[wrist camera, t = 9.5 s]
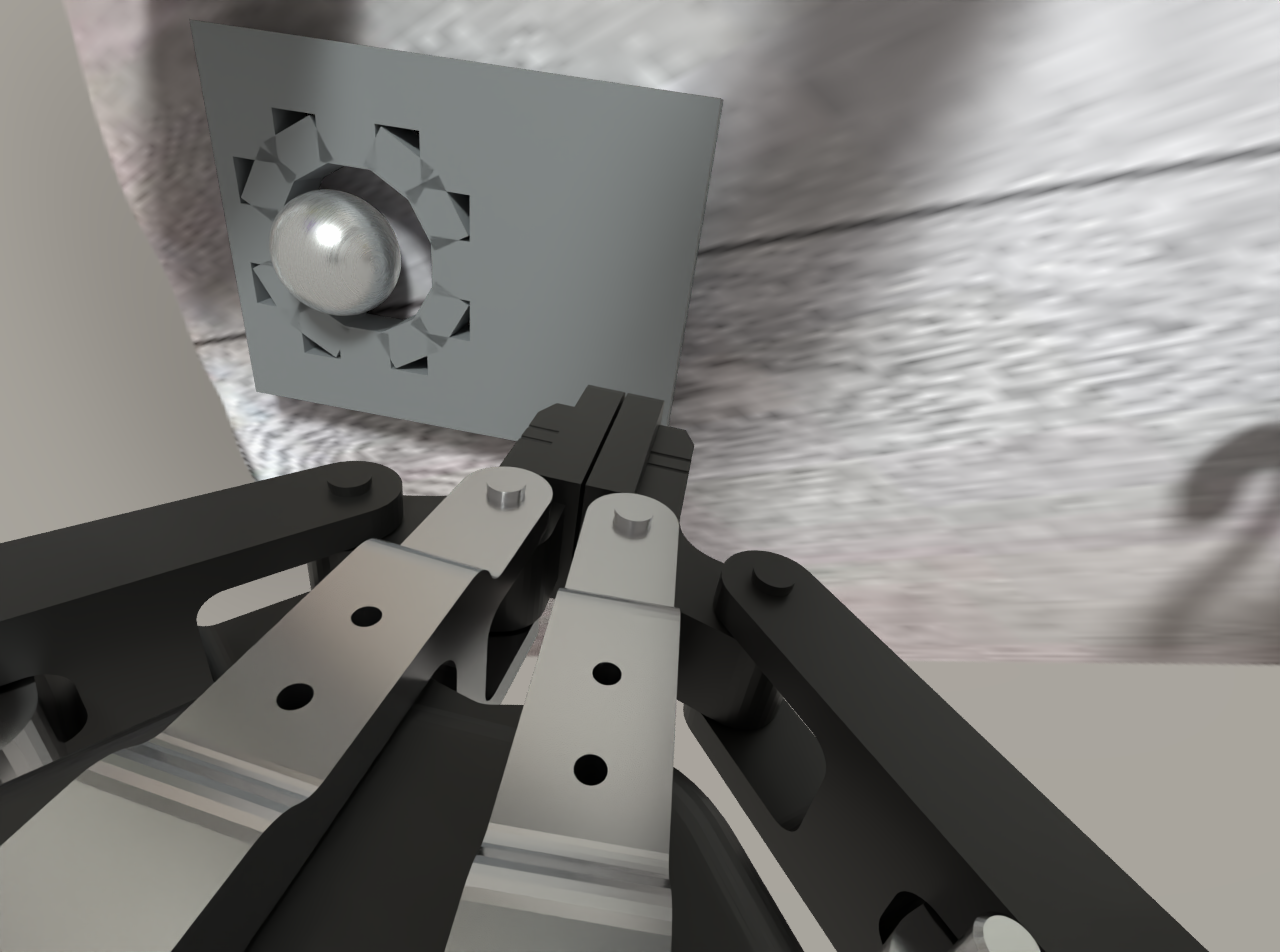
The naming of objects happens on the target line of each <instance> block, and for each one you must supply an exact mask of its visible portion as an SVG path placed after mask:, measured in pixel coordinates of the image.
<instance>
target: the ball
mask: <svg viewBox="0 0 1280 952" xmlns="http://www.w3.org/2000/svg"><path fill="white" fill-rule="evenodd" d="M269 252H270V257H271V261H272V264H273V267H274V270H275V272H276V274H277V276H278V278H279V279H280V281H281V282H282V283H283V285H284V286H285V287H286V289H287V290H288V291H289V292H290V293H291V294H292V295H293V296H294V297H296V298H297V299H298V300H299V301H301V302H302V303H304V304H305V305H307V306H309V307H311V308H313V309H315V310H317V311H320V312H323V313H326V314H331V315H338V316H350V315H358V314H361V313H365V312H367V311H369V310H372V309H374V308H375V307H377V306H378V305H380V304H381V303H382V302H384V301H385V300H386V299H387V298H388V297H389V295H390V294H391V293H392V291H393V289H394V288H395V286H396V284H397V281H398V278H399V275H400V270H401V253H400V248H399V244H398V241H397V238H396V235H395V233H394V231H393V229H392V228H391V226H390V225H389V223H388V221H387V220H386V219H385V218H384V216H383V215H382V214H381V213H380V212H379V211H378V210H377V209H376V208H374V207H373V206H372V205H370V204H369V203H368V202H366V201H365V200H363V199H361V198H359V197H357V196H355V195H352V194H349V193H347V192H343V191H338V190H330V189H323V190H313V191H310V192H306V193H303V194H301V195H299V196H297V197H295V198H293V199H292V200H290V201H289V202H288V203H287V204H286V205H285V206H284V207H283V208H282V209H281V210H280V211H279V213H278V214H277V216H276V217H275V219H274V222H273V224H272V227H271V230H270V236H269Z"/></svg>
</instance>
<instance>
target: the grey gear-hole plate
mask: <svg viewBox="0 0 1280 952" xmlns="http://www.w3.org/2000/svg"><path fill="white" fill-rule="evenodd" d="M189 20H190V19H189ZM190 26H191V31H192V37H193V42H194V48H195V53H196V59H197V64H198V70H199V76H200V81H201V87H202V92H203V98H204V103H205V109H206V114H207V120H208V126H209V131H210V137H211V142H212V148H213V153H214V159H215V165H216V170H217V176H218V181H219V187H220V192H221V198H222V203H223V209H224V215H225V220H226V226H227V231H228V237H229V242H230V248H231V253H232V259H233V265H234V270H235V276H236V281H237V287H238V292H239V298H240V303H241V309H242V315H243V320H244V326H245V331H246V337H247V342H248V348H249V354H250V359H251V365H252V370H253V376H254V381H255V387H256V392H261V393H267V394H272V395H277V396H282V397H288V398H293V399H298V400H303V401H309V402H314V403H319V404H324V405H330V406H335V407H340V408H345V409H351V410H356V411H361V412H366V413H371V414H377V415H382V416H387V417H392V418H398V419H403V420H408V421H413V422H419V423H424V424H429V425H434V426H440V427H445V428H450V429H455V430H461V431H466V432H471V433H476V434H482V435H487V436H492V437H497V438H503V439H508V440H513V441H518V440H519V438H521V435H522V434H523V433H524V431H525V430H526V428H527V427H529V424H530V423H531V421H532V420H533V419H534V417H535V416H536V414H537V413H538V412H539V411H541V410H543V409H545V408H547V407H550V406H552V405H554V404H556V403H559V404H564V405H568V406H573V407H575V405H576V403H577V402H578V400H579V399H580V397H581V395H582V394H583V392H584V390H585V389H586V387H587V386H588V385H593V386H598V387H602V388H607V389H612V390H617V391H621V392H625V393H626V395H627V393H631V394H636V395H641V396H646V397H650V398H655V399H660V400H664V401H665V402H664V409H663V415H662V420H661V425H663V426H669V420H670V414H671V408H672V402H673V396H674V390H675V384H676V378H677V373H678V367H679V361H680V355H681V349H682V343H683V337H684V331H685V325H686V319H687V313H688V307H689V301H690V295H691V289H692V284H693V278H694V272H695V266H696V260H697V254H698V248H699V242H700V236H701V230H702V224H703V218H704V212H705V206H706V200H707V195H708V189H709V183H710V177H711V171H712V165H713V159H714V153H715V147H716V141H717V135H718V129H719V123H720V117H721V111H722V106H723V99H721V98H714V97H707V96H701V95H694V94H687V93H680V92H674V91H667V90H660V89H654V88H647V87H640V86H633V85H627V84H620V83H613V82H607V81H600V80H593V79H586V78H580V77H573V76H566V75H560V74H553V73H546V72H539V71H533V70H526V69H519V68H513V67H506V66H499V65H492V64H486V63H479V62H472V61H466V60H459V59H452V58H445V57H439V56H432V55H425V54H419V53H412V52H405V51H398V50H392V49H385V48H378V47H372V46H365V45H358V44H351V43H345V42H338V41H331V40H325V39H318V38H311V37H304V36H298V35H291V34H284V33H278V32H271V31H264V30H257V29H251V28H244V27H237V26H231V25H224V24H217V23H210V22H204V21H197V20H190ZM304 113H310V114H315V115H309V116H307V117H305V115H304ZM410 129H412V130H418V131H419V136H418V135H417V134H415V133H414V132H413V131H412V130H410ZM343 166H349V167H356V168H362V169H368V170H371V171H372V172H373V173H375V174H376V175H377V176H378V177H380V178H381V179H382V180H384V181H385V182H386V183H387V184H389V185H390V186H391V187H392V188H394V189H395V190H396V191H397V192H399V193H400V194H401V195H403V196H404V197H405V198H406V199H408V200H409V202H410V204H411V206H412V208H413V210H414V212H415V214H416V216H417V218H418V220H419V222H420V223H421V225H422V227H423V229H424V231H425V233H426V235H427V237H428V239H429V241H430V243H431V262H432V288H431V290H430V292H429V294H428V295H427V297H426V299H425V301H424V302H423V304H422V306H421V307H420V309H419V311H418V313H417V314H416V315H414V316H412V317H410V318H407V319H405V320H401V319H395V318H390V317H384V316H378V315H373V314H368V313H366V312H365V313H361V314H358V315H350V316H338V315H331V314H326V313H323V312H320V311H317V310H315V309H313V308H311V307H309V306H307V305H305V304H304V303H302V302H301V301H299V300H298V299H297V298H296V297H294V296H293V295H292V294H291V293H290V292H289V291H288V290H287V289H286V287H285V286H284V285H283V283H282V282H281V281H280V279H279V278H278V276H277V274H276V272H275V270H274V267H273V264H272V261H271V257H270V252H269V236H270V230H271V227H272V224H273V222H274V219H275V217H276V216H277V214H278V213H279V211H280V210H281V209H282V208H283V207H284V206H285V205H286V204H287V203H288V202H289V201H290V200H292V199H293V198H295V197H297V196H299V195H301V194H303V193H306V192H310V191H313V190H318V189H319V186H320V184H321V182H322V179H323V177H325V176H327V175H328V174H330V173H332V172H334V171H336V170H338V169H340V168H341V167H343ZM469 321H470V325H467V324H468V322H469ZM426 356H427V357H426Z"/></svg>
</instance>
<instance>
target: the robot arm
mask: <svg viewBox="0 0 1280 952" xmlns="http://www.w3.org/2000/svg"><path fill="white" fill-rule="evenodd" d="M664 402H665V401H664V400H660V399H655V398H650V397H646V396H641V395H636V394H631V393H627V395H626V393H625V392H621V391H617V390H612V389H607V388H602V387H598V386H593V385H588V386H587V387H586V389H585V390H584V392H583V394H582V395H581V397H580V399H579V400H578V402H577V403H576V405H575V407H573V406H568V405H564V404H559V403H556V404H554V405H552V406H550V407H547V408H545V409H543V410H541V411H539V412H538V413H537V414H536V416H535V417H534V419H533V420H532V421H531V423H530V424H529V427H527V428H526V430H525V431H524V433H523V434H522V435H521V438H519V440H518V441H517V442H516V444H515V445H514V446H513V448H512V449H511V451H510V452H509V453H508V455H507V456H506V458H505V459H504V460H503V462H502V463H501V465H500V466H499V467H491V468H485V469H481V470H478V471H476V472H473V473H471V474H470V475H468V476H467V477H465V478H464V479H463V480H462V481H461V482H460V483H459V484H458V485H457V486H456V487H455V488H454V490H453V491H452V492H451V493H450V494H449V495H448V496H406V495H403V491H402V481H401V478H400V477H399V475H398V474H397V473H396V472H395V471H393V470H392V469H390V468H388V467H386V466H383V465H381V464H377V463H372V462H366V461H346V462H338V463H333V464H328V465H324V466H320V467H316V468H312V469H308V470H303V471H299V472H295V473H291V474H287V475H283V476H278V477H274V478H270V479H266V480H262V481H258V482H254V483H250V484H245V485H241V486H237V487H233V488H229V489H224V490H221V491H216V492H212V493H208V494H204V495H199V496H195V497H191V498H187V499H183V500H179V501H175V502H171V503H166V504H162V505H158V506H154V507H150V508H146V509H141V510H137V511H133V512H129V513H125V514H121V515H117V516H112V517H108V518H104V519H100V520H96V521H92V522H88V523H83V524H79V525H75V526H71V527H66V528H63V529H58V530H54V531H50V532H46V533H42V534H38V535H33V536H29V537H25V538H21V539H17V540H13V541H8V542H4V543H0V952H804V951H803V949H802V947H801V946H800V944H799V942H798V941H797V939H796V937H795V936H794V934H793V932H792V931H791V929H790V927H789V925H788V924H787V922H786V920H785V919H784V917H783V915H782V914H781V912H780V910H779V909H778V907H777V905H776V903H775V902H774V900H773V898H772V897H771V895H770V893H769V891H768V890H767V888H766V886H765V885H764V883H763V882H762V880H761V878H760V877H759V875H758V873H757V871H756V869H755V868H754V866H753V864H752V863H751V861H750V859H749V858H748V856H747V854H746V853H745V851H744V849H743V848H742V846H741V844H740V843H739V841H738V839H737V837H736V836H735V834H734V832H733V831H732V829H731V828H730V826H729V824H728V823H727V821H726V820H725V819H724V817H723V816H722V815H721V814H720V812H719V811H718V810H717V808H716V807H715V806H714V804H713V803H712V802H711V801H710V799H709V798H708V797H707V796H706V795H705V794H704V793H703V792H702V791H701V790H700V789H699V788H698V787H697V786H696V785H695V784H694V783H693V782H692V781H691V780H689V779H688V778H687V777H686V776H685V775H684V774H682V773H681V772H680V771H679V770H677V769H675V768H674V767H673V759H674V740H675V719H676V699H677V700H679V701H681V702H682V703H684V709H683V710H684V717H685V720H686V723H687V724H688V727H689V728H690V730H691V732H692V733H693V734H694V736H695V738H696V739H697V741H698V742H699V744H700V745H701V746H702V748H703V750H704V751H705V752H706V754H707V756H708V757H709V759H710V760H711V762H712V763H713V765H714V766H715V768H716V769H717V771H718V772H719V774H720V775H721V777H722V778H723V780H724V781H725V783H726V784H727V786H728V787H729V789H730V790H731V792H732V794H733V795H734V796H735V798H736V799H737V801H738V803H739V804H740V806H741V807H742V809H743V810H744V812H745V813H746V815H747V816H748V817H749V819H750V821H751V822H752V823H753V825H754V827H755V828H756V830H757V831H758V832H759V834H760V836H761V837H762V839H763V840H764V842H765V843H766V845H767V846H768V848H769V849H770V851H771V852H772V854H773V855H774V857H775V858H776V860H777V862H778V863H779V865H780V866H781V868H782V869H783V870H784V872H785V874H786V875H787V877H788V878H789V879H790V881H791V882H792V884H793V885H794V887H795V889H796V890H797V892H798V893H799V895H800V896H801V898H802V899H803V901H804V902H805V904H806V905H807V907H808V908H809V910H810V911H811V913H812V914H813V916H814V917H815V919H816V920H817V922H818V923H819V925H820V926H821V928H822V929H823V931H824V932H825V934H826V936H827V937H828V938H829V940H830V942H831V943H832V945H833V946H834V948H835V949H836V950H837V952H1209V951H1207V950H1206V949H1205V948H1204V947H1203V946H1202V945H1201V944H1200V943H1199V942H1198V941H1197V940H1196V939H1195V938H1194V937H1193V936H1192V935H1191V934H1190V933H1189V932H1187V931H1186V930H1185V929H1184V928H1183V927H1182V926H1181V925H1180V924H1179V923H1178V922H1177V921H1176V920H1175V919H1174V918H1173V917H1172V916H1171V915H1170V914H1168V912H1166V911H1165V910H1164V909H1163V908H1162V907H1161V906H1160V905H1159V904H1158V903H1157V902H1156V901H1155V900H1154V899H1152V897H1151V896H1150V895H1148V894H1147V893H1146V892H1145V891H1144V890H1143V889H1142V888H1141V887H1140V886H1139V885H1138V884H1137V883H1136V882H1135V881H1134V880H1133V879H1132V878H1131V877H1130V876H1128V874H1126V873H1125V872H1124V871H1123V870H1122V869H1121V868H1120V867H1119V866H1118V865H1117V864H1116V863H1115V862H1114V861H1113V860H1112V859H1111V858H1110V857H1109V856H1108V855H1106V854H1105V853H1104V852H1103V851H1102V850H1101V849H1100V848H1099V847H1098V846H1097V845H1096V844H1095V843H1094V842H1093V841H1092V840H1091V839H1090V838H1089V837H1088V836H1086V835H1085V834H1084V833H1083V832H1082V831H1081V830H1080V829H1079V828H1078V827H1077V826H1076V825H1075V824H1074V823H1073V822H1072V821H1071V820H1070V819H1069V818H1067V817H1066V816H1065V815H1064V814H1063V813H1062V812H1061V811H1060V810H1059V809H1058V808H1057V807H1056V806H1055V805H1054V804H1053V803H1052V802H1051V801H1050V800H1049V799H1048V798H1047V797H1045V796H1044V795H1043V794H1042V793H1041V792H1040V791H1039V790H1038V789H1037V788H1036V787H1035V786H1034V785H1033V784H1032V783H1031V782H1030V781H1029V780H1028V779H1027V778H1025V777H1024V776H1023V775H1022V774H1021V773H1020V772H1019V771H1018V770H1017V769H1016V768H1015V767H1014V766H1013V765H1012V764H1011V763H1010V762H1009V761H1007V759H1006V758H1004V757H1003V756H1002V755H1001V754H1000V753H999V752H998V751H997V750H996V749H995V748H994V747H993V746H992V745H991V744H990V743H989V742H988V741H987V740H985V739H984V738H983V737H982V736H981V735H980V734H979V733H978V732H977V731H976V730H975V729H974V728H973V727H972V726H971V725H970V724H969V723H968V722H967V721H965V720H964V719H963V718H962V717H961V716H960V715H959V714H958V713H957V712H956V711H955V710H954V709H953V708H952V707H951V706H950V705H948V703H946V701H944V700H943V699H942V698H941V697H940V696H939V695H938V694H937V693H936V692H935V691H934V690H933V689H932V688H931V687H930V686H929V685H928V684H926V682H925V681H923V680H922V679H921V678H920V677H919V676H918V675H917V674H916V673H915V672H914V671H913V670H912V669H911V668H910V667H909V666H908V665H907V664H906V663H905V662H903V661H902V660H901V659H900V658H899V657H898V656H897V655H896V654H895V653H894V652H893V651H892V650H891V649H890V648H889V647H888V646H887V645H886V644H885V643H883V642H882V641H881V640H880V639H879V638H878V637H877V636H876V635H875V634H874V633H873V632H872V631H871V630H870V629H869V628H868V627H867V626H866V625H865V624H863V623H862V622H861V621H860V620H859V619H858V618H857V617H856V616H855V615H854V614H853V613H852V612H851V611H850V610H849V609H848V608H847V607H846V606H845V605H844V604H842V603H841V602H840V601H839V600H838V599H837V598H836V597H835V596H834V595H833V594H832V593H831V592H830V591H829V590H828V589H827V588H826V587H825V586H824V585H822V584H821V583H820V582H819V581H818V580H817V579H816V578H815V577H814V576H813V575H812V574H811V573H810V572H809V571H808V570H806V569H805V568H804V567H803V566H801V565H800V564H798V563H797V562H795V561H793V560H791V559H789V558H787V557H784V556H782V555H779V554H775V553H772V552H766V551H757V550H755V551H744V552H740V553H737V554H735V555H733V556H731V557H730V558H728V559H727V560H726V562H725V563H722V562H720V561H718V560H715V559H713V558H711V557H709V556H707V555H705V554H704V553H702V552H701V551H699V550H698V549H696V548H695V547H694V546H693V545H691V543H690V542H689V541H688V540H687V539H686V538H685V536H684V535H683V533H682V531H681V528H680V515H681V510H682V505H683V500H684V495H685V489H686V484H687V479H688V474H689V469H690V464H691V459H692V454H693V449H694V444H693V442H692V440H691V439H690V437H689V435H688V433H687V432H686V430H682V429H677V428H672V427H668V426H663V425H661V420H662V415H663V409H664ZM306 563H307V565H308V572H309V578H310V585H311V591H310V592H307V593H304V594H301V595H298V596H296V597H293V598H290V599H287V600H284V601H281V602H279V603H276V604H273V605H270V606H267V607H265V608H262V609H259V610H256V611H253V612H250V613H247V614H245V615H242V616H239V617H236V618H233V619H231V620H228V621H225V622H222V623H219V624H216V625H213V626H197V621H196V618H197V614H198V611H199V609H200V608H201V606H202V605H203V604H204V602H206V601H207V600H208V599H209V598H211V597H212V596H214V595H215V594H217V593H219V592H221V591H224V590H227V589H230V588H233V587H236V586H239V585H242V584H245V583H248V582H251V581H254V580H257V579H260V578H263V577H266V576H269V575H272V574H275V573H278V572H281V571H284V570H287V569H290V568H293V567H297V566H300V565H303V564H306ZM549 598H553V599H555V602H554V605H553V608H552V612H551V615H550V619H549V622H548V625H547V629H546V632H545V635H544V639H543V642H542V646H541V649H540V652H539V656H538V659H537V663H536V666H535V670H534V673H533V677H532V680H531V683H530V686H529V690H528V693H527V696H526V700H525V703H524V705H500V704H501V702H502V700H503V699H504V697H505V695H506V693H507V691H508V689H509V687H510V686H511V684H512V682H513V680H514V678H515V676H516V674H517V672H518V671H519V668H520V667H521V664H522V663H523V661H524V659H525V657H526V656H527V654H528V652H529V650H530V648H531V646H532V644H533V642H534V641H535V639H536V637H537V635H538V632H539V627H540V618H541V615H542V613H543V612H544V610H545V607H546V605H547V603H548V600H549ZM783 697H784V698H785V699H784V698H783ZM785 700H786V701H787V702H788V703H789V704H790V705H789V704H788V703H787V702H786V701H785ZM790 706H791V707H792V708H793V709H794V710H793V709H792V708H791V707H790ZM794 711H795V712H796V713H797V714H798V715H799V716H798V715H797V714H796V713H795V712H794ZM799 717H800V718H801V719H802V720H803V721H804V722H803V721H802V720H801V719H800V718H799ZM804 723H805V724H806V725H807V726H808V727H809V728H808V727H807V726H806V725H805V724H804ZM809 729H810V730H811V731H812V732H813V733H812V732H811V731H810V730H809ZM813 734H814V735H815V736H816V737H815V736H814V735H813Z"/></svg>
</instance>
